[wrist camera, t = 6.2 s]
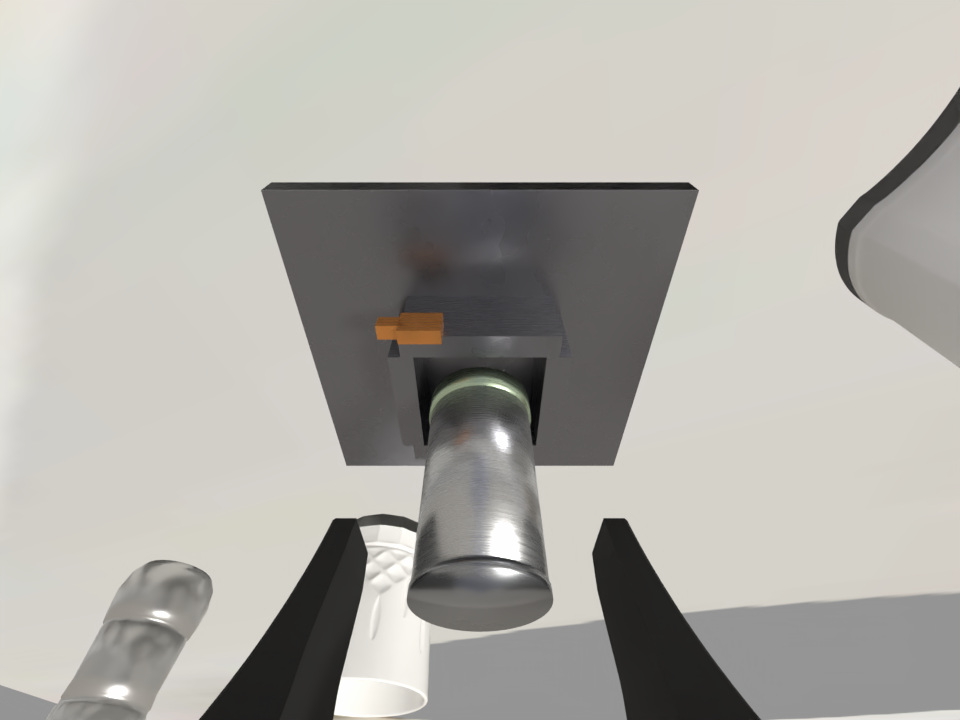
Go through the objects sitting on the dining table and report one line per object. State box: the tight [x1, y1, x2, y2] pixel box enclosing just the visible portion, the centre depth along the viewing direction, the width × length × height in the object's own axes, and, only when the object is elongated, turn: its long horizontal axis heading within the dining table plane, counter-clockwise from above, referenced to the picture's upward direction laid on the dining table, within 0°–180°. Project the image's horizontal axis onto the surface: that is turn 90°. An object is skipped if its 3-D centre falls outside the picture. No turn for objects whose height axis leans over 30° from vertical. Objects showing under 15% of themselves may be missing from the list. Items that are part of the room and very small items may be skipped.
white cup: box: [334, 514, 431, 717], centre depth 29 cm, size 8×8×10 cm
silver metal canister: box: [407, 367, 553, 632], centre depth 15 cm, size 4×4×8 cm
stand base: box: [261, 182, 699, 466], centre depth 19 cm, size 16×16×4 cm
